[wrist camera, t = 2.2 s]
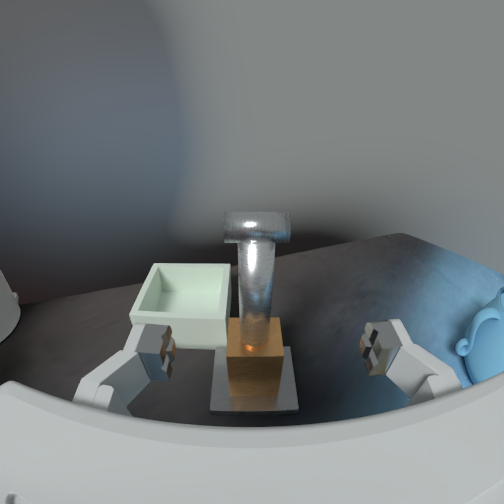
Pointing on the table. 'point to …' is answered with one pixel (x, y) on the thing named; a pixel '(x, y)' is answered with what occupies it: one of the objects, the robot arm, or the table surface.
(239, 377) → the strut
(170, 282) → the bin
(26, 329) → the table surface
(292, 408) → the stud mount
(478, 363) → the decorative pot
